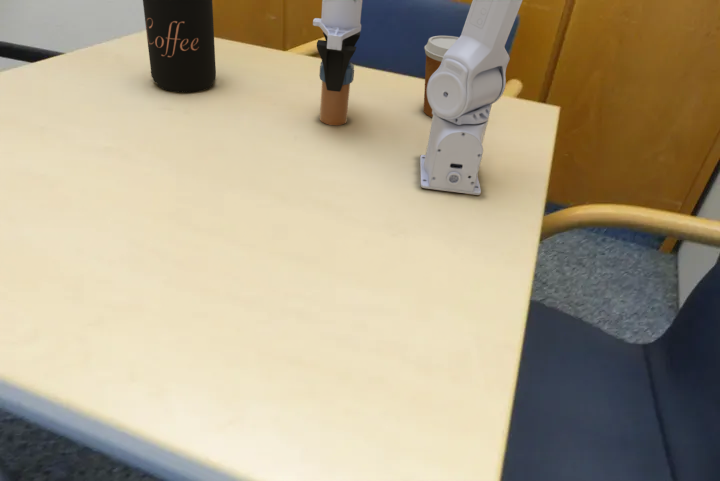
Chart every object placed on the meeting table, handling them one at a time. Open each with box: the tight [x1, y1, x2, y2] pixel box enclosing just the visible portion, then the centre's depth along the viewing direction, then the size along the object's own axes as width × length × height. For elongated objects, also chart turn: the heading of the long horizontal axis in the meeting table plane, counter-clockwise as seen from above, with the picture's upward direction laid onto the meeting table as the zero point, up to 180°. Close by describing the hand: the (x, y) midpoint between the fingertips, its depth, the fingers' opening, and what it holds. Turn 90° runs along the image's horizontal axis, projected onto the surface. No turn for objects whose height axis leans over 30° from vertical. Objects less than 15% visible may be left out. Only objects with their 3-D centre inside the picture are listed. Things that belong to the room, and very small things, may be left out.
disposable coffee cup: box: [423, 35, 460, 118], centre depth 94 cm, size 10×10×12 cm
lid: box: [319, 61, 355, 85], centre depth 85 cm, size 5×5×2 cm
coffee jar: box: [142, 0, 217, 94], centre depth 91 cm, size 11×11×18 cm
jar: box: [319, 80, 351, 126], centre depth 87 cm, size 4×4×8 cm
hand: (335, 84), depth 86 cm, fingers closed on lid, 5 cm apart
